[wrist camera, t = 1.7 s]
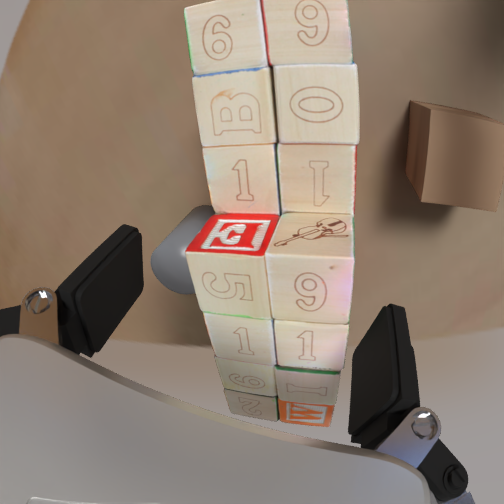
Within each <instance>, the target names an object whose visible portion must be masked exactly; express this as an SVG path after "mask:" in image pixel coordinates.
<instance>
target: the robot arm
mask: <svg viewBox="0 0 504 504" xmlns="http://www.w3.org/2000/svg"><path fill="white" fill-rule="evenodd" d="M143 287H144V281H143V261H142V235H141V233H139V231H138V229H137V228H135V227H132V226H129V225H126V224H123V225H122V226H121V227H119V228H118V229H117V230H116V231H115V232H114V233H113V234H112V235H111V236H110V237H109V238H107V239H106V240H105V241H104V242H103V243H102V244H101V245H100V246H99V247H98V248H97V249H96V250H95V251H94V252H93V253H92V254H91V255H90V256H89V257H88V258H86V259H85V260H84V261H83V262H82V263H81V264H80V265H79V266H78V267H77V268H76V269H75V270H74V271H73V272H72V273H71V274H70V275H69V276H68V277H67V278H66V280H65V281H64V282H63V283H62V284H61V285H60V286H59V287H58V289H57V290H56V291H55V292H54V291H53V290H51V289H50V288H46V287H39V288H35V289H33V290H31V291H29V292H28V293H27V294H26V295H25V296H24V298H23V299H22V303H21V305H19V306H15V307H10V308H5V309H1V310H0V504H475V502H474V500H473V498H472V495H471V493H470V492H468V493H467V492H466V488H467V484H468V475H467V472H466V470H465V468H464V467H463V465H462V464H461V463H460V462H459V461H458V460H457V459H456V457H455V456H454V455H453V454H452V453H451V452H450V451H449V449H448V448H447V447H446V446H445V445H444V444H443V443H442V442H441V440H440V439H439V436H440V434H441V424H440V420H439V418H438V416H437V415H436V414H435V413H434V412H433V411H432V410H430V409H428V408H425V407H420V399H419V389H418V379H417V371H416V363H415V355H414V349H413V347H412V346H411V343H410V336H409V330H408V323H407V318H406V312H405V308H404V307H401V306H397V305H394V304H389V305H388V306H387V307H386V306H384V307H383V308H382V309H381V311H380V312H379V314H378V316H377V317H376V319H375V320H374V322H373V324H372V325H371V327H370V328H369V330H368V331H367V333H366V334H365V336H364V337H363V339H362V340H361V342H360V343H359V345H358V346H357V348H356V349H355V351H354V354H353V359H352V381H351V399H350V400H351V401H350V414H349V426H348V432H349V434H351V435H352V436H351V442H352V443H359V444H361V448H359V447H354V446H348V445H343V444H337V443H332V442H327V441H322V440H317V439H312V438H308V437H303V436H298V435H293V434H289V433H285V432H281V431H277V430H273V429H269V428H265V427H262V426H258V425H254V424H251V423H247V422H244V421H240V420H237V419H234V418H230V417H227V416H224V415H221V414H218V413H215V412H212V411H209V410H206V409H203V408H200V407H197V406H194V405H192V404H189V403H186V402H183V401H181V400H178V399H176V398H173V397H170V396H168V395H165V394H163V393H160V392H158V391H155V390H153V389H151V388H148V387H146V386H143V385H141V384H139V383H136V382H134V381H132V380H130V379H127V378H125V377H123V376H121V375H119V374H117V373H114V372H112V371H110V370H108V369H106V368H104V367H102V366H100V365H98V364H96V363H94V362H92V361H90V360H87V359H86V358H84V357H82V356H80V355H79V354H80V353H83V354H85V355H87V356H88V357H90V358H91V357H92V356H93V354H94V353H95V352H99V351H100V350H101V348H102V347H103V346H104V344H105V343H106V341H107V340H108V339H109V337H110V336H111V334H112V333H113V331H114V330H115V329H116V327H117V326H118V324H119V323H120V322H121V320H122V319H123V317H124V316H125V315H126V313H127V312H128V311H129V309H130V308H131V306H132V305H133V304H134V302H135V301H136V300H137V298H138V297H139V296H140V294H141V293H142V290H143Z"/></svg>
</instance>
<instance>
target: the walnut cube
mask: <svg viewBox="0 0 504 504" xmlns="http://www.w3.org/2000/svg"><path fill="white" fill-rule="evenodd" d="M405 173H406V175H407V177H408V179H409V180H410V182H411V184H412V186H413V188H414V189H415V191H416V193H417V195H418V197H419V199H420V200H421V202H428V203H436V204H444V205H451V206H459V207H466V208H473V209H479V210H486V211H492V212H496V211H497V207H498V203H499V198H500V194H501V189H502V184H503V179H504V124H503V123H501V122H498V121H496V120H494V119H491V118H489V117H486V116H484V115H481V114H479V113H475V112H471V111H467V110H462V109H457V108H452V107H447V106H442V105H436V104H430V103H424V102H418V101H411V100H410V118H409V136H408V150H407V161H406V171H405Z"/></svg>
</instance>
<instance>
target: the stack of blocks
mask: <svg viewBox="0 0 504 504" xmlns="http://www.w3.org/2000/svg"><path fill="white" fill-rule="evenodd" d="M184 18H185V25H186V33H187V40H188V48H189V56H190V61H191V68H192V71H193V73H194V76H193V78H192V86H193V92H194V99H195V106H196V113H197V119H198V125H199V132H200V139H201V144H202V146H203V151H202V152H203V160H204V166H205V172H206V178H207V183H208V188H209V193H210V198H211V203H212V206H213V208H214V211H215V212H216V213H215V215H213V216H211V217H210V218H209V220H208V221H207V222H206V223H205V225H204V226H203V228H202V229H201V230H200V231H199V232H198V234H197V235H196V236H195V238H194V239H193V240H192V242H191V243H190V244H189V245H188V247H187V249H186V250H185V255H186V259H187V263H188V267H189V271H190V274H191V278H192V281H193V284H194V289H195V293H196V296H197V300H198V303H199V306H200V309H201V310H202V311H203V315H204V320H205V324H206V328H207V331H208V334H209V337H210V340H211V344H212V348H213V351H214V353H215V356H214V357H215V361H216V364H217V368H218V371H219V374H220V377H221V380H222V383H223V386H224V393H225V396H226V399H227V402H228V406H229V409H230V411H231V413H233V414H238V415H243V416H248V417H253V418H258V419H264V420H270V421H278V420H279V419H280V421H281V422H285V423H293V424H301V425H311V426H323V427H329V426H330V424H331V420H332V415H333V411H334V406H335V404H336V400H337V394H338V388H339V381H340V373H341V370H342V369H343V368H344V363H345V356H346V350H347V342H348V334H349V319H350V311H351V301H352V291H353V280H354V267H355V248H354V247H355V236H354V214H355V193H356V161H357V144H358V143H359V139H360V110H359V86H358V69H357V65H356V64H355V63H354V62H353V52H352V40H351V29H350V20H349V11H348V2H347V0H217V1H212V2H206V3H203V4H198V5H194V6H190V7H187V8H185V9H184Z"/></svg>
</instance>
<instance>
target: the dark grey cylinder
mask: <svg viewBox="0 0 504 504" xmlns="http://www.w3.org/2000/svg"><path fill="white" fill-rule="evenodd" d="M215 213H216V212H215V211H214V208H213V206H208V205H202V206H198V207H196V208H194V209H193V210H192V211H191V212H190V213H189V214H188V215H187V216H186V217H185V218H184V219H183V220H182V221H181V222H180V223H179V224H178V226H177V227H176V228H175V229H174V230H173V231H172V232H171V233H170V234H169V235H168V236H167V237H166V238H165V239H164V241H163V242H162V243H161V244H160V245H159V246H158V247H157V248H156V249H155V250H154V252H153V253H152V256H151V267H152V270H153V272H154V274H155V276H156V277H157V279H158V280H159V281H160V282H161V283H162V284H163V285H164V286H165V287H167V288H168V289H170V290H172V291H174V292H177V293H180V294H193V293H195V289H194V284H193V281H192V278H191V274H190V271H189V267H188V263H187V259H186V255H185V250H186V249H187V247H188V245H189V244H190V243H191V242H192V240H193V239H194V238H195V236H196V235H197V234H198V232H199V231H200V230H201V229H202V228H203V226H204V225H205V223H206V222H207V221H208V220H209V218H210V217H211V216H213V215H215Z"/></svg>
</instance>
